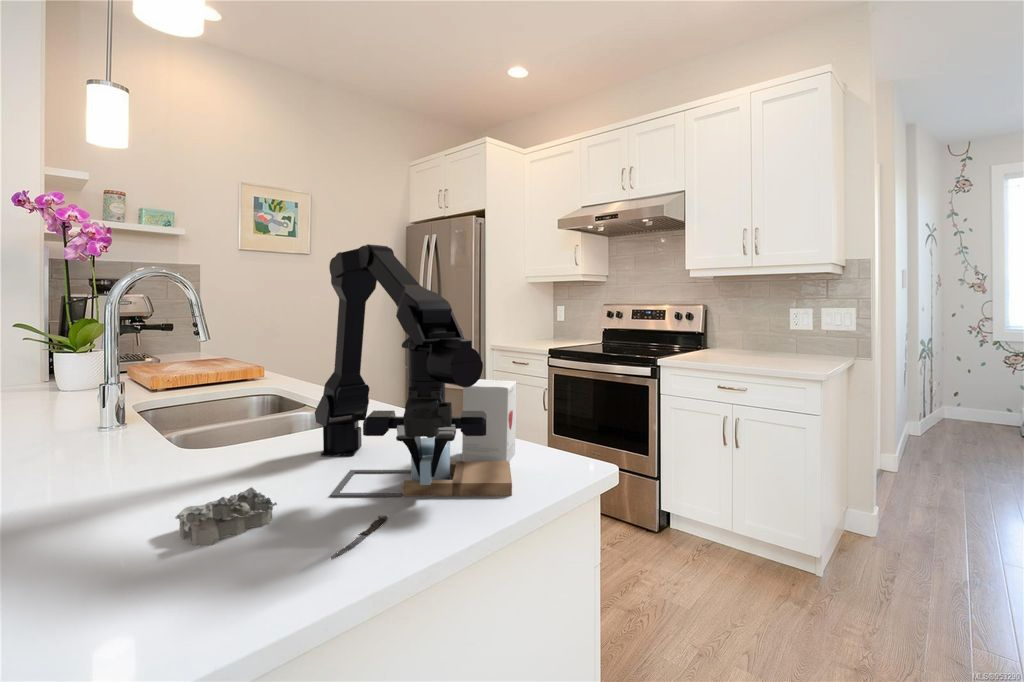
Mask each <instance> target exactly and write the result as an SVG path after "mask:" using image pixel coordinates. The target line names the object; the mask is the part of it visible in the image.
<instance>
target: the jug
mask: <svg viewBox="0 0 1024 682" xmlns="http://www.w3.org/2000/svg"><path fill="white" fill-rule="evenodd" d="M420 438H421V450H422V459H421V462H420V477H419V475H418V472H417V470H416V467H415V464H414V461H413V458H412V456H411V455H410V464H411V465H410V470H411V473H410V480H420V485H431V482H432V480H451V475H450V461H451V441H447V443H446V445H445V447H444V449H443V451H442V454H441V456H440V460H439V463H438V466H437V469H436V473H435V476H434V477H432V461H433V453H434V444H435V437H433V438H428V437H423V438H422V437H420Z"/></svg>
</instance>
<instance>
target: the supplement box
mask: <svg viewBox="0 0 1024 682" xmlns="http://www.w3.org/2000/svg"><path fill="white" fill-rule="evenodd" d="M462 411H484V412H485V414H486V435H485V436H465V435H464V434H463V433H462V440H461V441H462V444H461V446H462V447H461V448H462V451H461V452H462V454H461V455H462V457H461V459H462V460H461V461H509V462H510V461H511V460H512V458H513V457H514V456H515V454H516V432H517V431H516V427H517V426H516V424H517V423H516V422H517V421H516V419H517V417H516V415H517V381H516V380H506V379H505V380H498V379H497V380H496V379H483V378H481V379H480V378H479V380H478V381H477V382H476V383H475V384H474V385H473V386H470V387H462Z"/></svg>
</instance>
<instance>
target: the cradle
mask: <svg viewBox="0 0 1024 682" xmlns="http://www.w3.org/2000/svg"><path fill="white" fill-rule="evenodd" d="M510 463H511V462H510V461H462V460H461V461H457V460H456V461H455V460H454V461H453V460H452V461H451V460H450V476H453V478H452V479H450V480H432V482H431V485H420V480H411V479H404V480H403V483H402V496H403V497H405V496H407V497H410V496H418V497H420V496H422V495H423V496H426V495H428V496H430V495H435V496H512V494H513V480H512V471H511V464H510Z"/></svg>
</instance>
